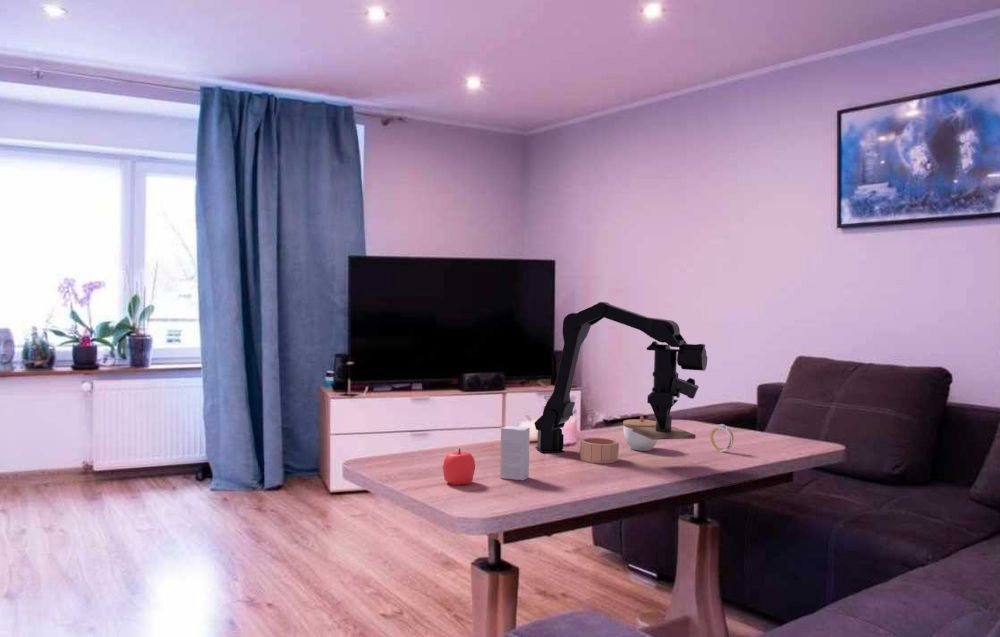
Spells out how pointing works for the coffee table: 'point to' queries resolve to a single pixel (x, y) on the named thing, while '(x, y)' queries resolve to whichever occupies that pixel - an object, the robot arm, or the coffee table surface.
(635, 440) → the lidded jar
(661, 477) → the coffee table surface
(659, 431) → the walnut lid
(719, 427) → the bracelet
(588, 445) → the tan short open cylinder
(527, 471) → the skincare box
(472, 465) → the apple
